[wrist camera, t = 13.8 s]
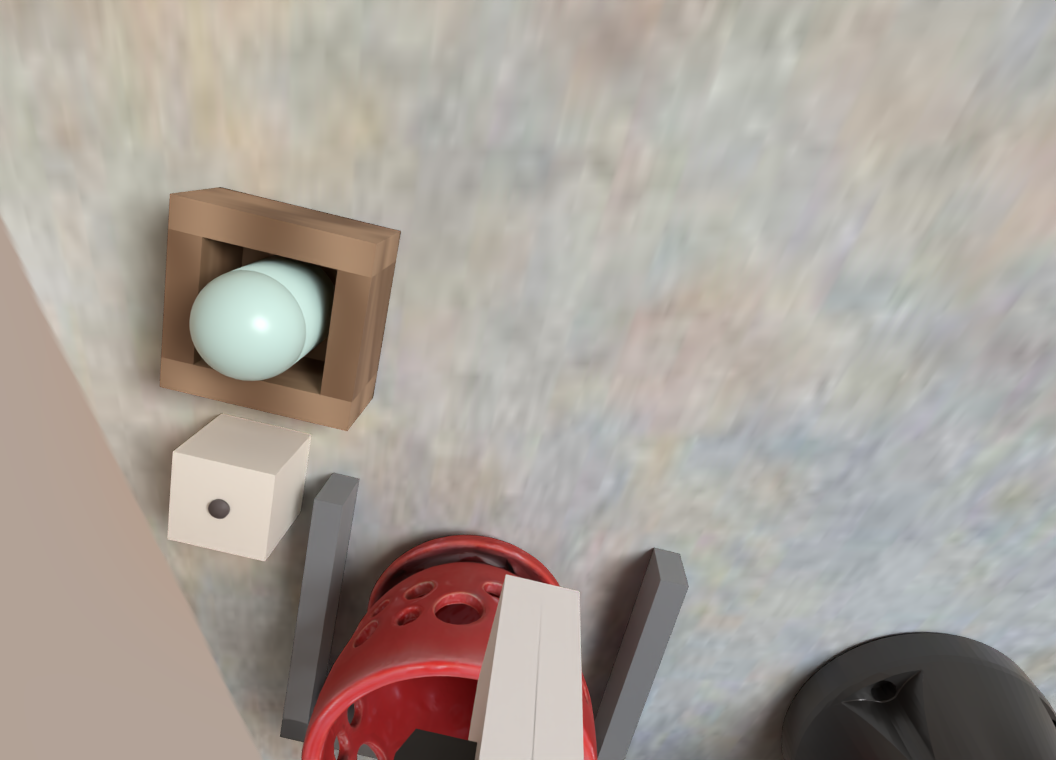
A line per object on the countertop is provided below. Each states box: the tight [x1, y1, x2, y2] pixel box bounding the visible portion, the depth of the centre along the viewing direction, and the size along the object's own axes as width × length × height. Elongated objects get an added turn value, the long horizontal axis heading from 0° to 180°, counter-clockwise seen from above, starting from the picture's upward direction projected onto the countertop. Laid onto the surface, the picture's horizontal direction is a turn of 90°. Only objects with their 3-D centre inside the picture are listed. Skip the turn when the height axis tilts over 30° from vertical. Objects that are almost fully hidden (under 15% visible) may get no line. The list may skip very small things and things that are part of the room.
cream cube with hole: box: [167, 413, 311, 561], centre depth 36 cm, size 5×5×5 cm
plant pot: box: [301, 535, 597, 760], centre depth 35 cm, size 13×13×12 cm
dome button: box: [189, 255, 335, 381], centre depth 31 cm, size 5×5×7 cm
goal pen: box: [280, 473, 689, 760], centre depth 40 cm, size 20×16×3 cm
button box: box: [160, 187, 401, 431], centre depth 33 cm, size 9×9×4 cm
